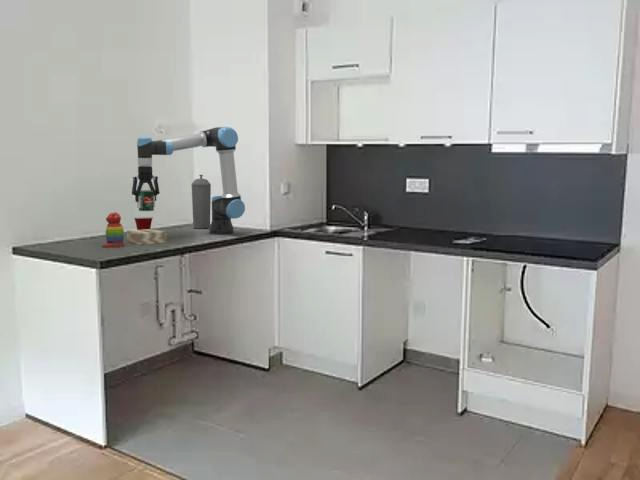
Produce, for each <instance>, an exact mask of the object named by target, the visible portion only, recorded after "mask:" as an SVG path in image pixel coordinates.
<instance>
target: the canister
mask: <svg viewBox="0 0 640 480" xmlns="http://www.w3.org/2000/svg"><path fill="white" fill-rule="evenodd" d="M203 176H204V175H203V174H199V178H196V179H194V180H193V182H192V183H191V203H192V204H191V205H192V223H193V224H192V226H193V227H192V228H193V229H196V228H197V230H198V229H199V230H202V229H204V228H206V229H210V225H211V205H212V203H211V202H212V197H211V195H212V194H211V193H212V192H211V191H212V190H211V189H212V187H211V186H212V184H211V183H210V181H209V180H208V179H206V178H203Z"/></svg>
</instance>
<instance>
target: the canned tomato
mask: <svg viewBox="0 0 640 480" xmlns="http://www.w3.org/2000/svg"><path fill="white" fill-rule="evenodd" d="M139 196H140V206H141V208H138V211H139V212H154V209H155V207H153V206H154V205H153V191H151V189H150V190H148V189H147V190H146V189H144V190H142V189H141V191H140V193H139Z"/></svg>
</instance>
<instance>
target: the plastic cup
mask: <svg viewBox="0 0 640 480" xmlns="http://www.w3.org/2000/svg"><path fill="white" fill-rule="evenodd" d="M133 219H134V221H135V224H136V225H135V226H136V230H143V229H152V222H153V219H154V217H153V216H152V217H151V216H144V217H143V216H139V217H133Z"/></svg>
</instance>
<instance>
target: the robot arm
mask: <svg viewBox="0 0 640 480" xmlns="http://www.w3.org/2000/svg"><path fill="white" fill-rule="evenodd" d="M152 139H153V138H152V137H147V136H144V137H143V136H142V137H141V136H139V137H137V140H136V141H137V143H136V147H137V165H138V166H137V174H138V175H136V176H132V189H131V195H132V196H134V198H135V203H136V208H137V209H139V208H141V206H140V196H139V193H140V191H141V190H142V188H143V185H144V184H147V185H148V187H149V189H150V190H151V191H153V205H154V206H153V207H154V208H156V202H157V196H158V195H159V194H160V188H159V182H158V180H159V176H155V175H153V167H152V166H153V156H156V155H157V156H171V155H173V154H174V152H176V151H177V152H178V151H182V150H186V149H187V150H188V149H193V148H197V147H202V148H207V147H213V148H215V151H216V152H217V153H218V155H219V164H220V173H221V174H220V175H221V185H222V192H223V193H222V195H215V196H212V197H211V221H210V228H208V231H209V232H208V233H209V234H211V235H230V234H234V232H235V229H234V227H233V223H232V219H238V218H241V217H242V216H243V214H244V213H245V211H246V206H245V202H244V201H243V200H242V196H241V194H240V193H239V192H238V182H237V173H236V164H235V162H236V161H235V151H236V148H237V147H236V146H237V143H238V142H239V136H238V133H237V131H236V130H235V129H234V128H232V127H230V126H219V127H212V128H209V129H205V130H202V131H201V130H200V131H199V132H198V133H193V134H186V135H181V136H176V137H171V138H165V139H160V140H159V139H158V140H152ZM138 180H139V181H138ZM152 180H153V182H152Z"/></svg>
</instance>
